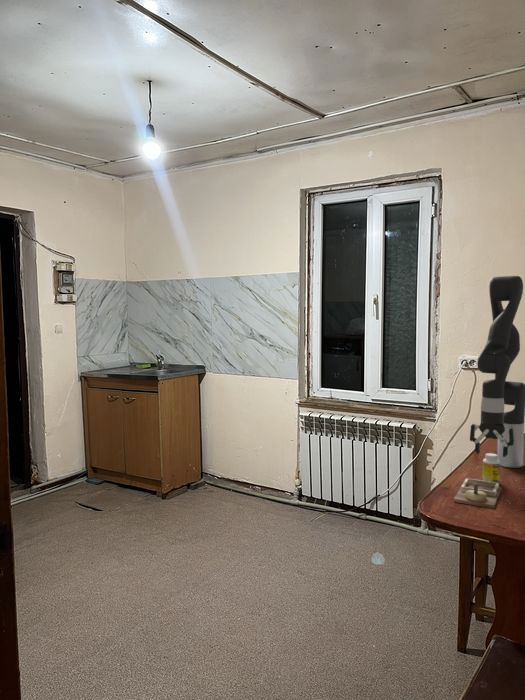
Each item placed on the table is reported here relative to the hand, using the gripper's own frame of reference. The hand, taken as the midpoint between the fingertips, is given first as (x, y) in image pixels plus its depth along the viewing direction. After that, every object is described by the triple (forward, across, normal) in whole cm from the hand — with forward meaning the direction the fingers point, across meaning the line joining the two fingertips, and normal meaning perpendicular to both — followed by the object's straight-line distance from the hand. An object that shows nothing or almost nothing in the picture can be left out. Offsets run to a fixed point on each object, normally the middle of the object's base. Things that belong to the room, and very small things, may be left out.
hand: (491, 454), depth 186 cm
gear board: (+10, +2, +16) cm, 19 cm away
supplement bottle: (+10, 0, 0) cm, 10 cm away
